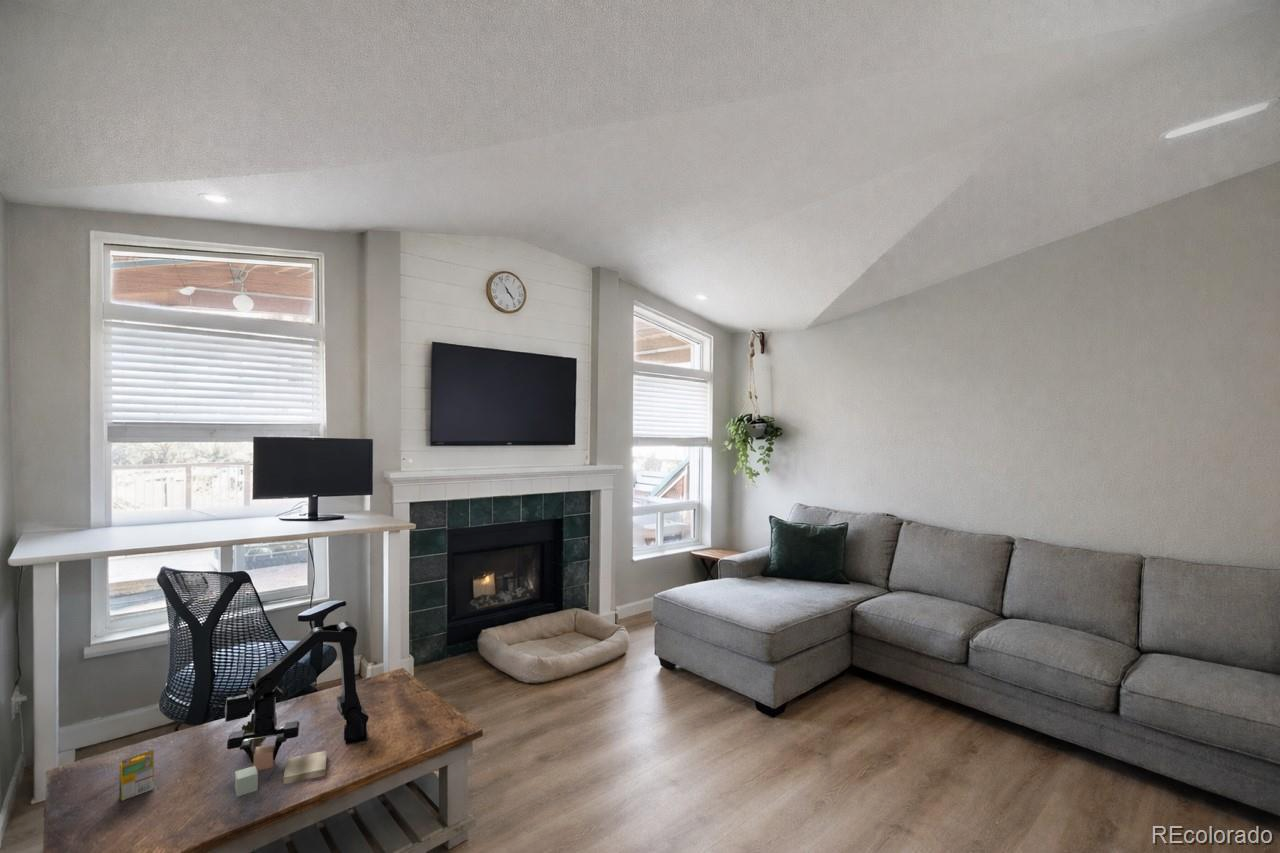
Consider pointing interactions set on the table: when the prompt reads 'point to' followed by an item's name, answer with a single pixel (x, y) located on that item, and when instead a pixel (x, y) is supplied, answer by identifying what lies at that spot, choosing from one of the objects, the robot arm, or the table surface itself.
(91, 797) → the table surface
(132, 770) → the crayon box
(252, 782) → the sage cube
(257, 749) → the terracotta cube
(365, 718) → the robot arm
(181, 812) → the table surface
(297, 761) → the plinth
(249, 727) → the cup
